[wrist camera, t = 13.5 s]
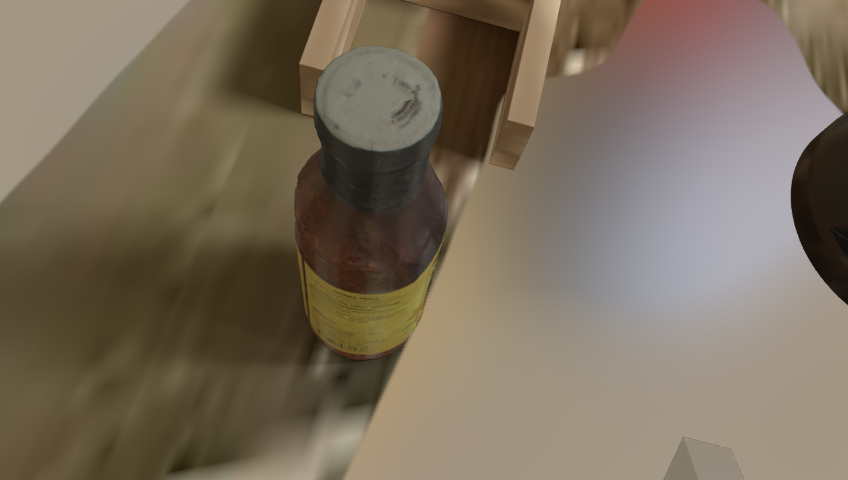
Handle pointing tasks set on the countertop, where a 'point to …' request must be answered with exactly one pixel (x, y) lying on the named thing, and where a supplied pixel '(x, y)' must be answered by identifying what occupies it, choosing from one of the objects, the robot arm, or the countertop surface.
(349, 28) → the wooden u-shaped frame
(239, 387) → the countertop surface
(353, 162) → the sauce bottle
